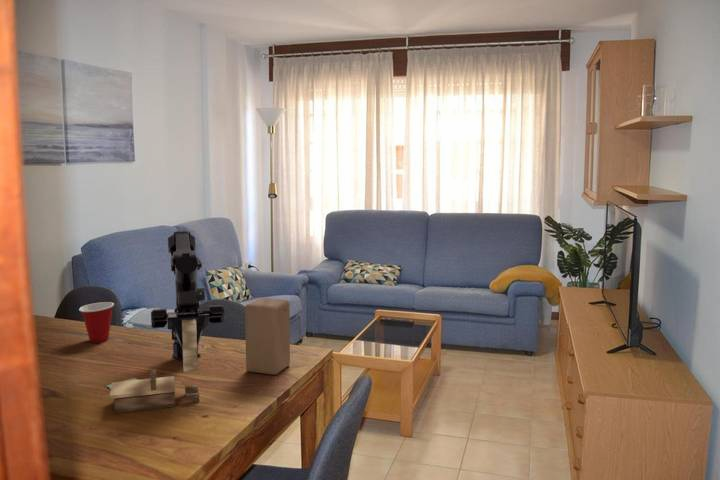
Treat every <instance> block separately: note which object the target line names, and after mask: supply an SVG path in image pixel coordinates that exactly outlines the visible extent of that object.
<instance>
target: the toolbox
mask: <svg viewBox="0 0 720 480" xmlns="http://www.w3.org/2000/svg"><path fill="white" fill-rule="evenodd" d="M184 393H185V404H190V403H198V402H200V392H199V387H198V385H196V384H195V385H188V386H184ZM113 401H114V414H123V413H131V412H140V411H148V410H157V409H165V408H174V407H175V408H176V391H175V392H170V393H160V394H151V395H142V396H133V397H123V398H114V399H113Z"/></svg>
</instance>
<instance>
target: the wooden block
mask: <svg viewBox="0 0 720 480" xmlns="http://www.w3.org/2000/svg"><path fill="white" fill-rule="evenodd" d="M290 306H291V305H290V301H289V300H288V299H279V298H278V299H277V298H268V297H260V298H258V299H256V300H253V301H251V302H249V303H247V304H245V306H244V320H245V321H244V325H245V326H244V329H245V330H244V331H245V333H244V334H245V370H246V371H248V372H251V373H258V374H264V375H265V374H266V375H272V376H275V375H276V376H277V374H279V373H281V372H282V371H283V370H284V369H286V368H287V367H289V366H290V363H291V338H290V337H291V328H290V327H291V325H290V323H291V322H290V321H291V318H290V317H291V315H290V308H291V307H290Z"/></svg>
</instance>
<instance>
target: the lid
mask: <svg viewBox="0 0 720 480" xmlns="http://www.w3.org/2000/svg"><path fill="white" fill-rule="evenodd" d="M111 384H112V386H111V389H110V392H109V400H112V399H113V400H114V398H123V397H133V396H142V395H151V394H160V393H170V392H175V393H176V387H175V385H176V384H175V376H174V375H173V376H162V377H157V369H150V378H145V379H143V378H142V379H138V380H131V381H126V380H122V381H114V382H113V381H112V382H111Z"/></svg>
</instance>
